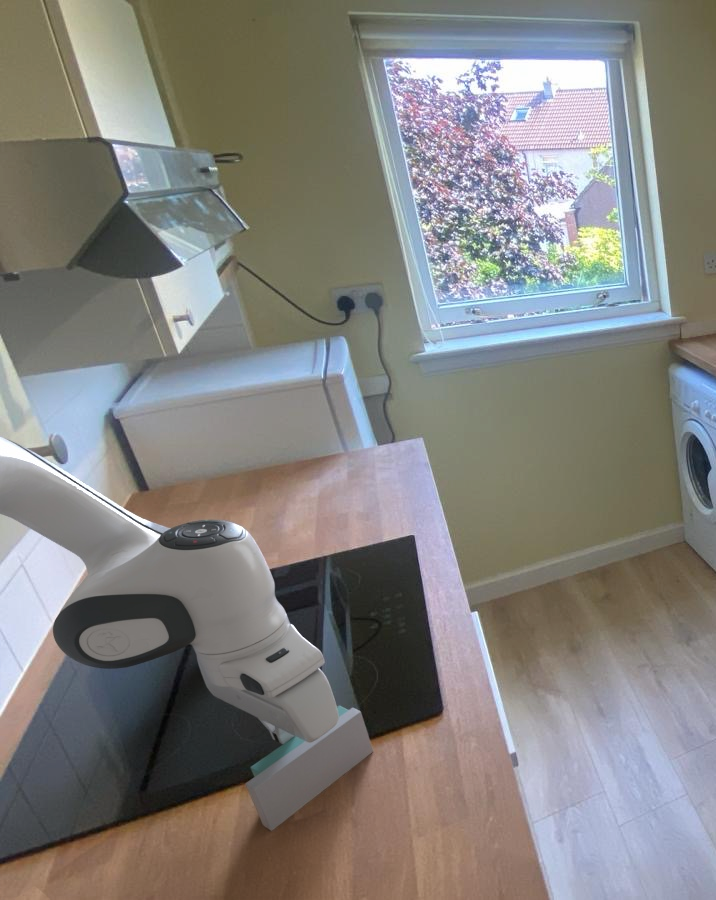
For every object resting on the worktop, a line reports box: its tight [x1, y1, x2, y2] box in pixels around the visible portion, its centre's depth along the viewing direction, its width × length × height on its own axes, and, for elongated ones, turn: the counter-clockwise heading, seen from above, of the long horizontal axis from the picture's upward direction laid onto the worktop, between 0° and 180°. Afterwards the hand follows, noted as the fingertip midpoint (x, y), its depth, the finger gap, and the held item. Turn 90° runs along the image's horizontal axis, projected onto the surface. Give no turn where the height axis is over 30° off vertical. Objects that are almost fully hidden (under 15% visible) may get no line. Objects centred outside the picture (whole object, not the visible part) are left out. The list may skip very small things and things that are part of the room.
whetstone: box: [245, 705, 374, 832], centre depth 90 cm, size 13×5×7 cm, turn 154°
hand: (285, 738), depth 90 cm, fingers closed
